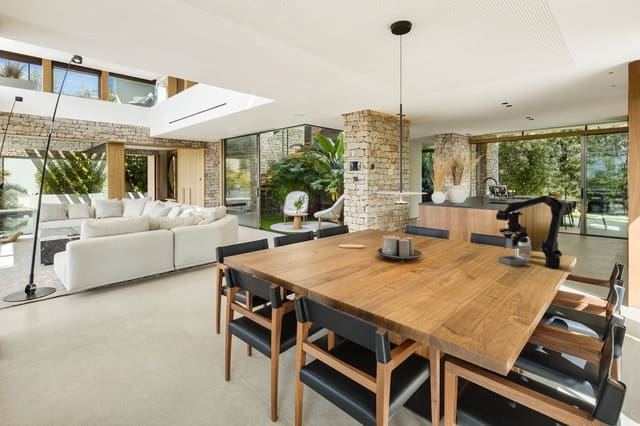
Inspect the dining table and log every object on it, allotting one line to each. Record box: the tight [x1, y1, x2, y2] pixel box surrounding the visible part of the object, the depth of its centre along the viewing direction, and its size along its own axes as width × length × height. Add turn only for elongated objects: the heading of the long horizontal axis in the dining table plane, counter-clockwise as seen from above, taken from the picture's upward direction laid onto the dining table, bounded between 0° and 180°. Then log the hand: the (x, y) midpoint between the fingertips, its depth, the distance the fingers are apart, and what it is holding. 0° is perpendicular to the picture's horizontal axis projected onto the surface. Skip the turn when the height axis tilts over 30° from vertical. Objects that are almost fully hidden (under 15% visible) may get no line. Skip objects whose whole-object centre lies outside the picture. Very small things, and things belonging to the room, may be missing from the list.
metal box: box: [505, 237, 519, 250], centre depth 212 cm, size 5×5×6 cm
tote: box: [498, 255, 527, 267], centre depth 202 cm, size 11×11×4 cm
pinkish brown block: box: [516, 254, 531, 262], centre depth 211 cm, size 6×4×4 cm
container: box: [514, 236, 532, 258], centre depth 223 cm, size 8×8×13 cm
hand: (512, 245), depth 213 cm, fingers closed on metal box, 5 cm apart
